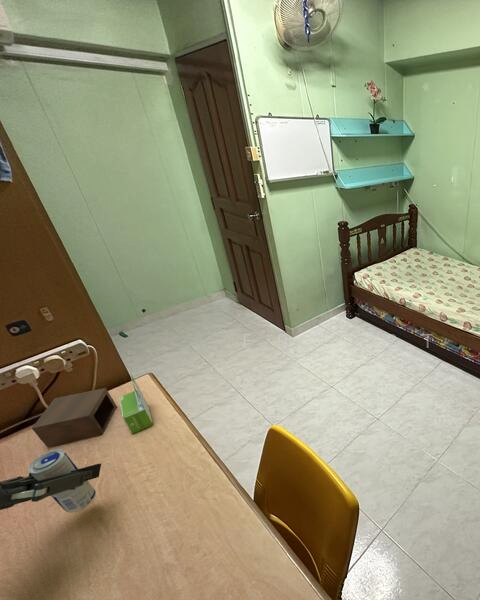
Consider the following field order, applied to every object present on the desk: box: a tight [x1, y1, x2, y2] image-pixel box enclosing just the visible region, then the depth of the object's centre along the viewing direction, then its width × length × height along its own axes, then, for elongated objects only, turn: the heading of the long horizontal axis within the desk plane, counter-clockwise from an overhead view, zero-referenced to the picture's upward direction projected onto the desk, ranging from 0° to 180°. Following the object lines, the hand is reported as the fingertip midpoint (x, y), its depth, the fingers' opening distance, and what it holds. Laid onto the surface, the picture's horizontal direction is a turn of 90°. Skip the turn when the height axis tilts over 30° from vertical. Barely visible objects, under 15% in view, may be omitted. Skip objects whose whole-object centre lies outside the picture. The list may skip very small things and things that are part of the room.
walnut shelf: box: [31, 387, 118, 449], centre depth 89 cm, size 12×11×8 cm
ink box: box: [118, 372, 154, 435], centre depth 90 cm, size 10×5×14 cm, turn 43°
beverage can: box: [27, 448, 97, 514], centre depth 65 cm, size 5×5×15 cm
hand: (83, 471), depth 69 cm, fingers closed on beverage can, 5 cm apart
